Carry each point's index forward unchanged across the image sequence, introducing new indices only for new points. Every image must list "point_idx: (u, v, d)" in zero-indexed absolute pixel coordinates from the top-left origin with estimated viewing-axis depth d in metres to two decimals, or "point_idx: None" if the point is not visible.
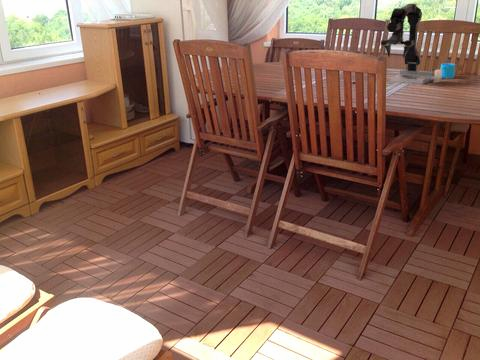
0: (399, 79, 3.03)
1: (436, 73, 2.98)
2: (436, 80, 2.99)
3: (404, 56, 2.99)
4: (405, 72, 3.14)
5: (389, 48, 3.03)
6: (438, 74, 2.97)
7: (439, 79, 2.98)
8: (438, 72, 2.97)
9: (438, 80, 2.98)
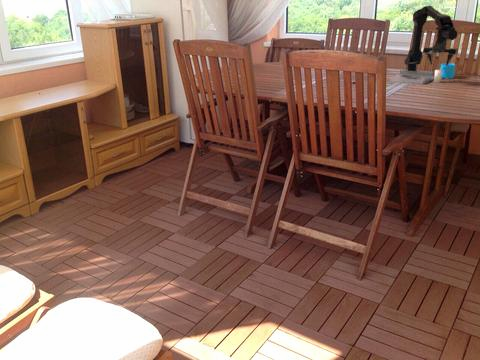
0: (399, 79, 3.03)
1: (436, 73, 2.98)
2: (436, 80, 2.99)
3: (447, 64, 2.94)
4: (405, 72, 3.14)
5: (431, 56, 2.98)
6: (438, 74, 2.97)
7: (439, 79, 2.98)
8: (438, 72, 2.97)
9: (438, 80, 2.98)
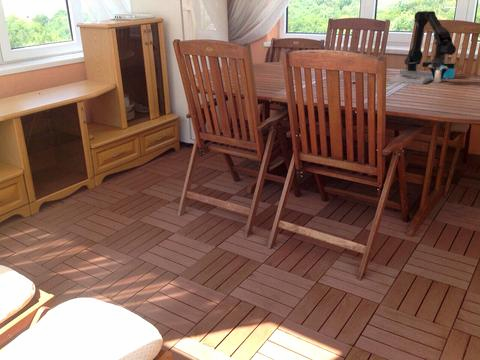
0: (399, 79, 3.03)
1: (436, 73, 2.98)
2: (436, 80, 2.99)
3: None
4: (405, 72, 3.14)
5: (434, 70, 3.00)
6: (438, 74, 2.97)
7: (439, 79, 2.98)
8: (438, 72, 2.97)
9: (438, 80, 2.98)
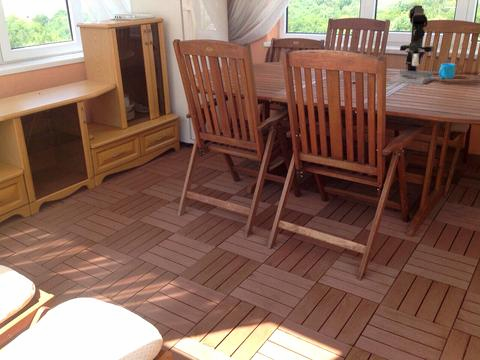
0: (399, 79, 3.03)
1: (414, 57, 3.00)
2: (414, 64, 3.02)
3: (419, 62, 3.01)
4: (405, 72, 3.14)
5: (412, 54, 3.03)
6: (415, 57, 3.00)
7: (417, 63, 3.01)
8: (416, 56, 3.00)
9: (416, 64, 3.01)
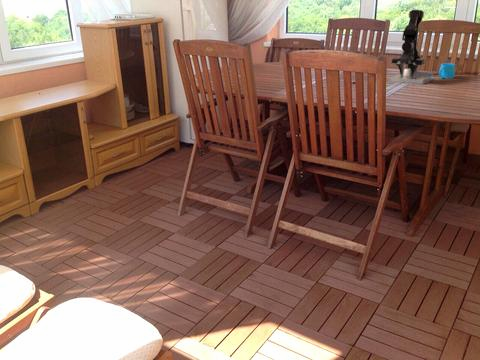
0: (399, 79, 3.03)
1: (405, 72, 3.06)
2: None
3: (412, 74, 3.06)
4: None
5: (401, 66, 3.09)
6: (406, 73, 3.05)
7: None
8: (406, 71, 3.05)
9: None
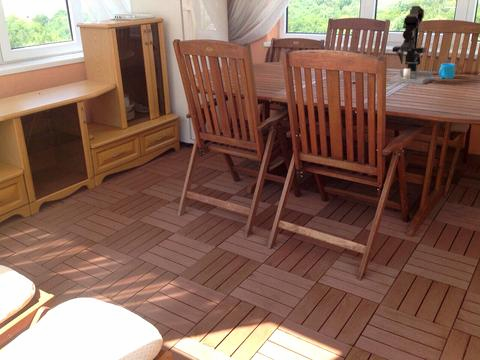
0: (399, 79, 3.03)
1: (405, 72, 3.06)
2: None
3: (414, 63, 3.03)
4: None
5: (402, 55, 3.06)
6: (406, 73, 3.05)
7: None
8: (406, 71, 3.05)
9: None
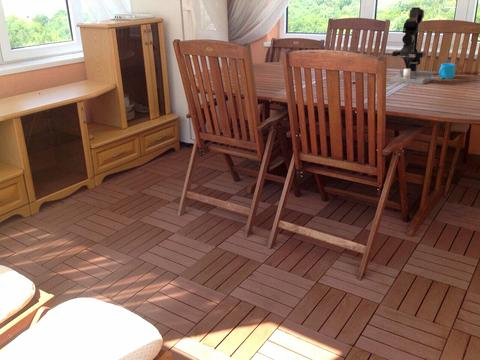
0: (399, 79, 3.03)
1: (405, 72, 3.06)
2: None
3: (408, 67, 3.06)
4: None
5: (407, 60, 3.05)
6: (406, 73, 3.05)
7: None
8: (406, 71, 3.05)
9: None
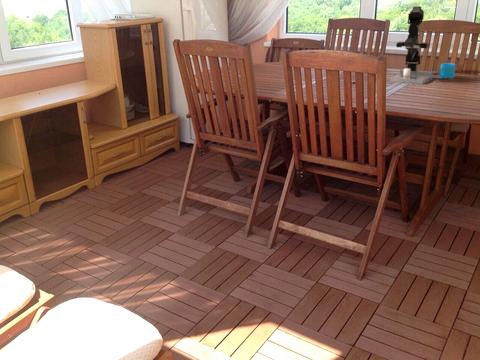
0: (399, 79, 3.03)
1: (405, 72, 3.06)
2: None
3: (412, 58, 3.08)
4: None
5: (411, 51, 3.08)
6: (406, 73, 3.05)
7: None
8: (406, 71, 3.05)
9: None
